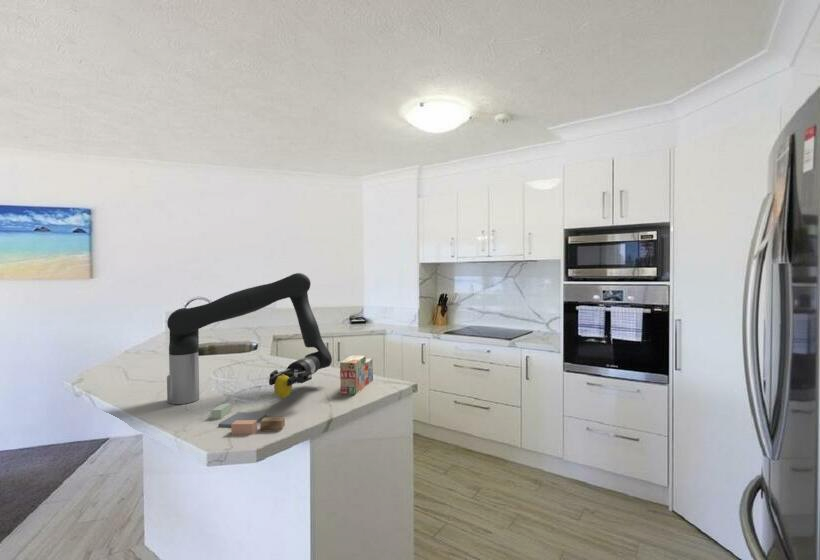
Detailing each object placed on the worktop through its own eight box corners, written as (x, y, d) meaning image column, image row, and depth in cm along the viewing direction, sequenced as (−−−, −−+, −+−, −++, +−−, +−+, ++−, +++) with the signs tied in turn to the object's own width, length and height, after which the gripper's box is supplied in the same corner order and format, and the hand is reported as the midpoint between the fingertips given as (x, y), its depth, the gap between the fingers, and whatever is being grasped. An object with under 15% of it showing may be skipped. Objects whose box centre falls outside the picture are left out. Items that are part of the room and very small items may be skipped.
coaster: (218, 426, 115) (218, 423, 115) (238, 414, 125) (237, 412, 125) (250, 427, 114) (250, 425, 114) (267, 415, 124) (267, 413, 124)
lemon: (295, 397, 128) (295, 373, 128) (282, 402, 123) (282, 377, 123) (284, 395, 131) (283, 371, 131) (270, 399, 126) (270, 375, 126)
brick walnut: (260, 431, 111) (260, 421, 111) (264, 427, 114) (263, 417, 114) (281, 431, 112) (281, 420, 112) (284, 427, 115) (284, 417, 115)
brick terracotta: (231, 434, 110) (231, 424, 110) (236, 430, 113) (236, 420, 112) (252, 434, 109) (252, 423, 109) (257, 430, 112) (256, 420, 112)
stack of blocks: (359, 379, 167) (358, 350, 167) (373, 380, 165) (372, 351, 165) (340, 394, 146) (339, 361, 146) (356, 395, 144) (355, 362, 144)
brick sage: (221, 419, 122) (221, 409, 122) (211, 419, 122) (211, 409, 122) (231, 412, 128) (230, 403, 128) (222, 412, 128) (221, 403, 128)
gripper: (282, 358, 142) (258, 369, 125) (320, 360, 140) (300, 371, 123) (282, 379, 142) (258, 393, 125) (320, 381, 140) (300, 395, 123)
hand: (279, 382), depth 125 cm, fingers closed on lemon, 5 cm apart
